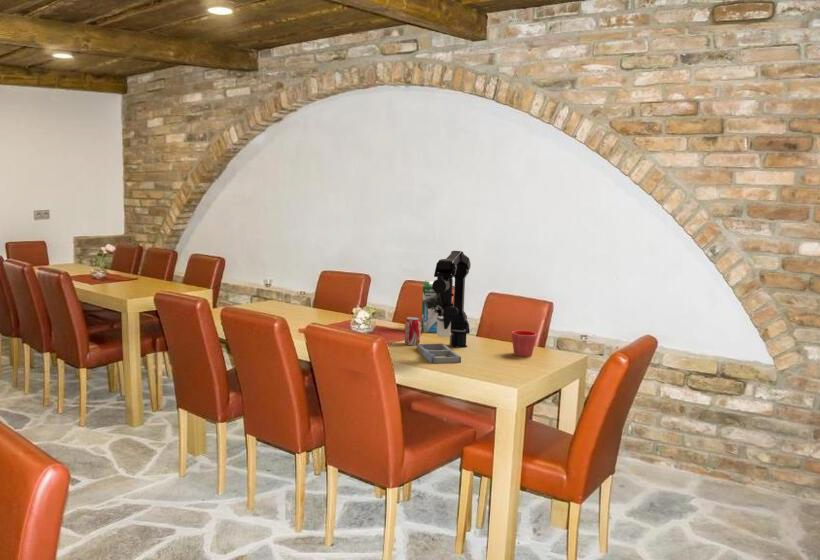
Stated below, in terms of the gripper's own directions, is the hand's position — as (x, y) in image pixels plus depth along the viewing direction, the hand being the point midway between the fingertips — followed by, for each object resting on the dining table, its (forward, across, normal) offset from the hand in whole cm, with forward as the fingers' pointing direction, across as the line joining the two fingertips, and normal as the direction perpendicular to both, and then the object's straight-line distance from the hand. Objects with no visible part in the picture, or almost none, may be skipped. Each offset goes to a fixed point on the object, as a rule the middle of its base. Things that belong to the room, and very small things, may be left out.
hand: (444, 327), depth 289 cm
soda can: (+13, -29, -6) cm, 33 cm away
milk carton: (+13, -57, +11) cm, 60 cm away
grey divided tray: (+13, -6, 0) cm, 14 cm away
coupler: (+4, 0, 0) cm, 4 cm away
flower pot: (+13, -3, +37) cm, 40 cm away
